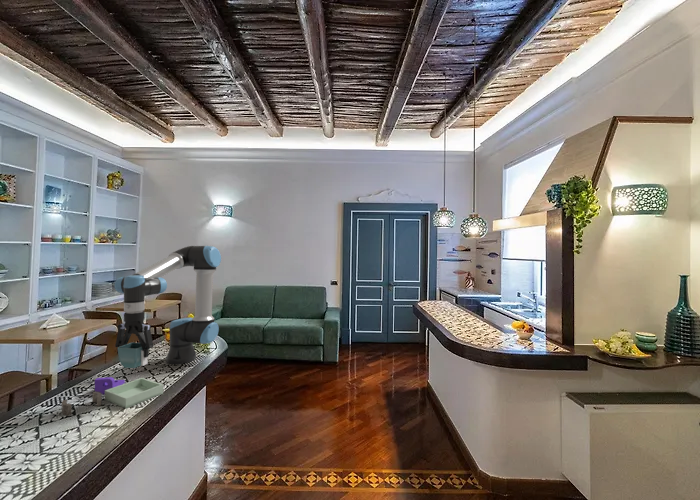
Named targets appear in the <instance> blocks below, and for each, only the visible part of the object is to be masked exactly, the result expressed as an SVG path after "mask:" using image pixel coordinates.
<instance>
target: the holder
mask: <svg viewBox="0 0 700 500" xmlns="http://www.w3.org/2000/svg"><path fill="white" fill-rule="evenodd" d="M91 393H92V403H96V404H97V406H96V407H101V406H102V403H103V400H102V399H103V394H102V393H100V392H96V391H95V390H94V391H92V392H91ZM61 415H63V416H65V415H66V416H65V417H69V416H71V415H72V403H68V400H67V399H63V400H62V402H61Z"/></svg>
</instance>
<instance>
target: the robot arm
mask: <svg viewBox="0 0 700 500" xmlns="http://www.w3.org/2000/svg"><path fill="white" fill-rule="evenodd" d="M221 263H222V255H221V252H220V250H219V249H218V248H217V247H215V246H213V245H190V246H189V245H188V246H185V247H182V248H179V249H177V250H175V251H173V252H171V253H169V255H168V256H166V258H163V259H161V260H160V261H157V262H155V263H153V264H151V265H149V266H147V267H145V268H143V269H141V270H139V271H137V272H136V273H135V272H134V273H133V274H132V275H126V276H121V277H118V278H116V280H115V281H114V286H113V287H114V289H115V291H116V292H117V293H120V294H123V312H124V313H123V322H124V323H120V324H118V325H117V335H116V341H115V348H118V347H121V346H123V345H126V344H129V341H130V339H131V336H132V334H134V335H135V336H136V337H137V339H138V341H139V343H140V344H141V346H142V348H143V350H141V365H140V367H143V366H145V365H148V357H150V352H149V351H150V349H152V348H154V342H153V338H152V337H153V336H152V331H151V327H152V326H151V324H145V322H144V320H145V317H146V315H145V314H146V313H145V310H146V309H145V306H146V305H145V297H146V296H152V295H159V294H162V293H165V291H166V290H167V288H168V283H167V281H166V279H165V278H163V277H164V276H166V275H168V274H169V273H171V272H173V271H175V270H181V269H182V268H185V267H193V271H194V272H195V273H196V277H195V278H196V279H195V280H196V281H195V302H194V303H195V306H194V307H195V309H194V317H183V318H182V317H181V318H178V319H173V320H171V321H170V323H169V349H168V352H167V355H166V358H165V359H166V360H165V362H166V364H170V365H171V364H172V365H181V364H186V363H189V362H190V363H191V362H192V361H195V360H196V359H197V353H196V350H195V347H194V343H195V344H203V345H204V344H211V343H213V342H214V341H215V340H216V338H217V337H218V334H219V331H220V329H219V328H220V327H219V324H218V323H217V322H215V317H214V316H213V315H212V314H213V311H212V310H213V290H214V289H213V284H214V273H215V272H216V271H217V267H219V266H220V264H221ZM120 365H121V366H122V364H121V363H120Z"/></svg>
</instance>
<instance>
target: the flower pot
mask: <svg viewBox="0 0 700 500" xmlns="http://www.w3.org/2000/svg"><path fill="white" fill-rule="evenodd" d="M141 350H143V348H142V346H141V344H140V342H128V343H127V344H126V345H123V346H121V347H117V355H118V360H119V363H120V365H121V364H122V365H121V366H122V367H123V368H127V369H128V368H129V369H136V368H138V367H141Z"/></svg>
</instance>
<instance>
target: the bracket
mask: <svg viewBox="0 0 700 500" xmlns="http://www.w3.org/2000/svg"><path fill="white" fill-rule="evenodd" d="M125 383H126V380H125V379H117V380H116V379H115V378H114V377H111V376H109V377H106V376H105V377H97V378H96V379H94V392H95V391H96V392H100V393H102V395H105V390H108V389H111V388H114V387H117V386H119V385H122V384H125Z"/></svg>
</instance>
